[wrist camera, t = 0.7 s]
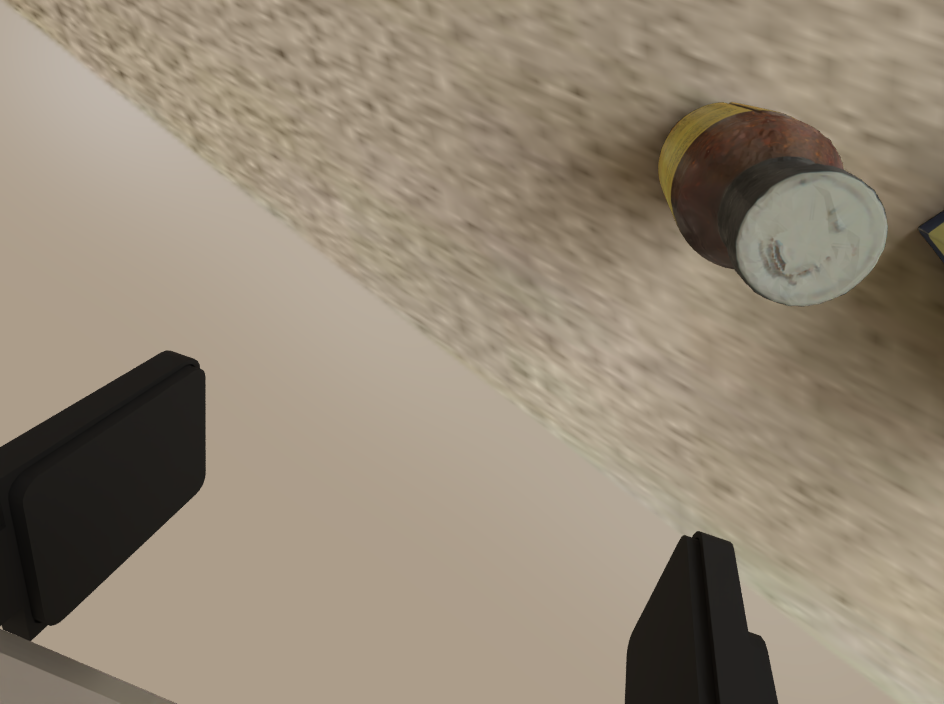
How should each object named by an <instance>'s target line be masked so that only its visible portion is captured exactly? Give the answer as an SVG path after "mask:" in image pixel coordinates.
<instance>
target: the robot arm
mask: <svg viewBox="0 0 944 704" xmlns="http://www.w3.org/2000/svg"><path fill="white" fill-rule="evenodd" d="M205 452H206V450H205V373H204V371H203V370H202V369H200V365H199V363H198V361H197V360H195V359H193V358H190V357H187V356H184V355H181V354H178V353H176V352H173V351H164V352H161V353H160V354H158V355H156V356H154V357H153V358H151V359H149V360H148V361H146V362H145V363H143V364H141V365H139V366H137V367H136V368H134V369H132V370H131V371H129V372H128V373H126V374H124V375H122V376H120V377H119V378H117V379H115V380H114V381H112V382H110V383H109V384H107V385H106V386H104V387H102V388H100V389H98V390H97V391H95V392H93V393H92V394H90V395H88V396H86V397H85V398H83V399H82V400H80V401H78V402H76V403H75V404H73V405H71V406H69V407H68V408H66V409H64V410H63V411H61V412H59V413H58V414H56V415H54V416H52V417H51V418H49V419H48V420H46V421H44V422H42V423H41V424H39V425H37V426H36V427H34V428H32V429H30V430H29V431H27V432H25V433H24V434H22V435H20V436H19V437H17V438H15V439H13V440H12V441H10V442H8V443H7V444H5V445H3V446H2V447H0V626H1V625H2V628H3V630H1V629H0V704H177V703H174V702H172V701H169V700H167V699H165V698H162V697H160V696H158V695H156V694H153V693H151V692H149V691H146V690H144V689H142V688H139V687H137V686H134V685H132V684H130V683H127V682H125V681H123V680H120V679H118V678H116V677H113V676H111V675H109V674H106V673H104V672H101V671H99V670H97V669H94V668H92V667H90V666H87V665H85V664H83V663H80V662H78V661H75V660H73V659H71V658H68V657H66V656H64V655H61V654H59V653H57V652H54V651H52V650H50V649H47V648H45V647H42V646H40V645H38V644H35V643H33V642H31V640H32V639H33V638H35V637H36V636H37V635H38V634H39V633H40V632H41V631H42V630H43V629H44V628H45V627H46V626H47V625H50V626H52V625H56V624H57V623H59V622H61V621H62V620H63V619H64V618H65V617H66V616H67V615H69V614H70V612H72V611H73V610H74V609H75V608H76V607H77V606H78V605H79V604H80V603H81V602H82V601H83V600H84V599H85V598H86V597H88V595H90V594H91V593H92V592H93V591H94V590H95V589H96V588H97V587H98V586H99V585H100V584H101V583H102V582H103V581H105V580H106V579H107V578H108V577H109V576H110V575H111V574H112V573H113V572H114V571H115V570H116V569H117V568H118V567H119V566H120V565H121V564H123V563H124V562H125V561H126V560H127V559H128V558H129V557H130V556H131V555H132V554H133V553H134V552H135V551H136V550H137V549H138V548H139V547H140V546H142V545H143V544H144V542H146V541H147V540H148V539H149V538H150V537H151V536H152V535H153V534H154V533H155V532H156V531H157V530H159V529H160V528H161V527H162V526H163V525H164V524H165V523H166V522H167V521H168V520H169V519H170V518H171V517H172V516H173V515H174V514H175V513H176V512H177V511H179V510H180V509H181V508H182V507H183V506H184V505H185V504H186V503H187V502H188V501H189V500H190V499H191V498H192V497H193V496H194V495H196V494H197V492H198V491H199V490H200V488H201V487H202V485H203V483H204V479H205V471H206V467H205V466H206V465H205V464H206V463H205V461H206V460H205V459H206V456H205V455H206V453H205ZM4 630H5V631H4ZM6 631H8V632H6ZM9 632H10V633H9ZM11 633H12V634H11ZM14 634H15V635H14ZM16 635H17V636H16ZM21 637H22V638H21ZM625 704H778V700H777V696H776V691H775V685H774V680H773V675H772V671H771V665H770V660H769V655H768V651H767V647H766V644H765V641H764V640H763V639H762V637H761V636H759V635H756V634H754V633H750V632H748V627H747V622H746V616H745V610H744V604H743V598H742V593H741V587H740V581H739V575H738V569H737V564H736V558H735V552H734V547H733V544H732V543H731V542H729V541H726V540H723V539H720V538H718V537H715V536H712V535H709V534H706V533H703V532H700V531H697V532H696V533H695V534H694V535H693V537H692V538H691V537H689V536H686V535H683V536H682V537H681V539H680V540H679V542H678V544H677V546H676V548H675V550H674V552H673V554H672V556H671V558H670V560H669V562H668V564H667V566H666V568H665V569H664V571H663V573H662V575H661V577H660V579H659V581H658V583H657V585H656V587H655V589H654V591H653V593H652V595H651V597H650V599H649V601H648V603H647V605H646V607H645V609H644V611H643V613H642V614H641V617H640V618H639V620H638V622H637V624H636V626H635V628H634V630H633V632H632V634H631V637H630V640H629V644H628V649H627V662H626V688H625Z"/></svg>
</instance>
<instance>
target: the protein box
mask: <svg viewBox="0 0 944 704" xmlns="http://www.w3.org/2000/svg"><path fill="white" fill-rule="evenodd" d="M918 230H919V232H920V233H921V235H922V236H923V237H924V238H925V239H926V241H927V242H928V243H929V244H930V246H931V247H932V248H933V250H934V251H935V252H936V253H937V255H938V256H939V257H940V259H941V260H942V261H943V263H944V211H943V212H941V213H939V214H938V215H936V216H935V217H933V218H932V219H930V220H929V221H927V222H926V223H924V224H923V225H921V226H920V227H918Z"/></svg>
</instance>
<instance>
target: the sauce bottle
mask: <svg viewBox="0 0 944 704" xmlns="http://www.w3.org/2000/svg"><path fill="white" fill-rule="evenodd" d="M658 174H659V180H660V184H661V187H662V190H663V193H664V195H665V197H666V200H667V202H668V205H669V207H670V210H671V212H672V215H673V217H674V219H675V221H676V224H677V226H678V228H679V230H680V232H681V234H682V235H683V237H684V238H685V240H686V241H687V242H688V244H689V245H690V246H691V247H692V248H693V249H694V250H695V251H696V252H697V253H698V254H700V255H701V256H702V257H704V258H705V259H707V260H708V261H710V262H712V263H714V264H717V265H719V266H722V267H725V268H730V269H735V271H736V272H737V273H738V274H739V275H740V277H741V278H742V279H743V280H744V282H745V283H746V284H747V285H749V287H751V289H752V290H753V291H754V292H755V293H757V294H759V295H760V296H762V297H764V298H766V299H769V300H771V301H774V302H777V303H780V304H784V305H788V306H810V305H816V304H821V303H823V302H826V301H829V300H832V299H834V298H836V297H838V296H841V295H844V294H846V293H847V292H848V291H850V290H851V289H852V288H854V287H855V286H856V285H857V284H858V283H860V282H861V281H862V280H863V279H864V278H865V277H866V276H867V275H868V274H869V273H870V271H871V270H872V269H873V268H874V267H875V265H876V263H877V262H878V259H879V257H880V255H881V253H882V252H883V250H884V247H885V242H886V238H887V229H888V225H887V218H886V213H885V209H884V207H883V204H882V202H881V201H880V199H879V197H878V195H877V194H876V192H875V191H874V189H872V188H871V187H870V186H868V185H867V184H866V183H864V182H863V181H862V180H861V179H859V178H857V177H856V176H854V175H852V174H850V173H848V172H847V171H845V170H844V168H843V163H842V161H841V158H840V156H839V155H838V152H837V151H836V148H835V147H834V146H833V145H832V142H831V140H830V139H828V138H826V137H824V136H823V135H822V134H821V133H820V131H818V130H816V129H815V128H813V127H812V126H810V125H808V124H805V123H803V122H802V121H799V120H796V119H795V118H793V117H791V116H788V115H786V114H783V113H780V112H776V111H772V110H767V109H762V108H758V107H753V106H749V105H743V104H739V103H734V102H730V103H729V104H727V103H714V104H710V105H706V106H703V107H701V108H699V109H697V110H694V111H693V112H691V113H690V114H688V115H686V116H685V117H684V118H683V119H682V120H680V121H679V122H678V123H677V124H676V125H675V126H674V127H673V128H672V129H671V131H670V134H669V136H668V137H667V139H666V141H665V143H664V145H663V147H662V150H661V154H660V158H659V165H658Z"/></svg>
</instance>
